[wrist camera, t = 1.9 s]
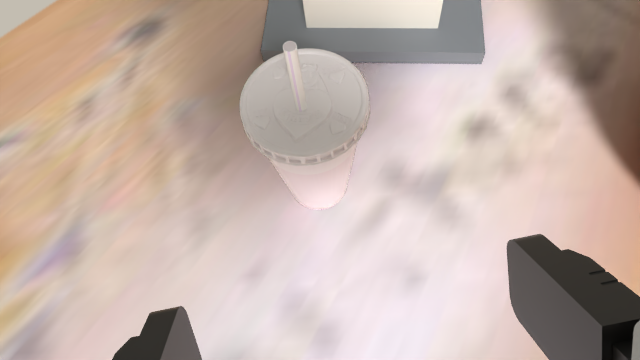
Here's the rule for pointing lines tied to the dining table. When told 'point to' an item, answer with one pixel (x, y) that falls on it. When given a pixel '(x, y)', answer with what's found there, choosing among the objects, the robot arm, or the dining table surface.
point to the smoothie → (307, 120)
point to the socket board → (379, 29)
